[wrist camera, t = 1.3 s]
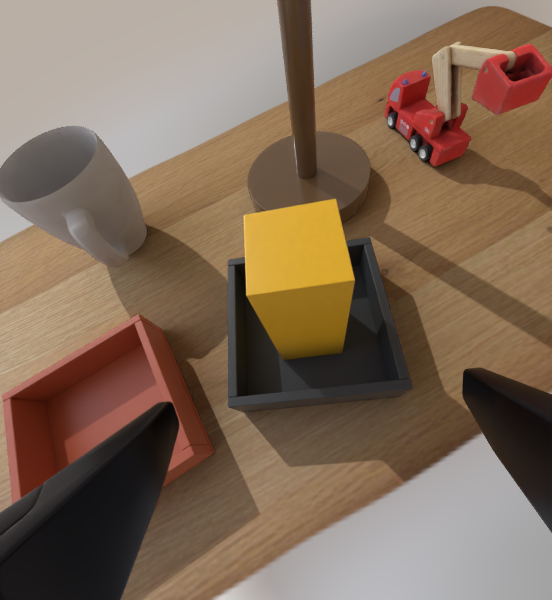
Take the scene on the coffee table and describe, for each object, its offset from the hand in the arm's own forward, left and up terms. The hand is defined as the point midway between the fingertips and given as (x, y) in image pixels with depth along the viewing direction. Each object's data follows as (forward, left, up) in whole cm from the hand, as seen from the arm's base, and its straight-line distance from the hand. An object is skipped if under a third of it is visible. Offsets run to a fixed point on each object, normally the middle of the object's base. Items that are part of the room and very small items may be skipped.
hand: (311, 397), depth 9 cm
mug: (+22, +14, -13) cm, 29 cm away
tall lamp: (+22, -6, -13) cm, 26 cm away
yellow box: (+7, -1, -12) cm, 14 cm away
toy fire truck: (+22, -19, -13) cm, 32 cm away
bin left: (+4, +15, -13) cm, 20 cm away
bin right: (+7, -1, -13) cm, 14 cm away
